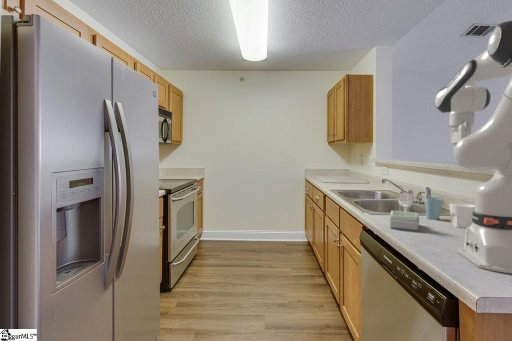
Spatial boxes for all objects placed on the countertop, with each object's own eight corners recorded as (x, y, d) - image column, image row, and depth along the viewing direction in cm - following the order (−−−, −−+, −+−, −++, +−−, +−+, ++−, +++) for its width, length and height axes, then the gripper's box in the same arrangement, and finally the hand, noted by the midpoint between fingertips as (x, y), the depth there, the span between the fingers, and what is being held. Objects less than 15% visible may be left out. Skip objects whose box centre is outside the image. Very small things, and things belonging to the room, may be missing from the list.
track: (418, 231, 129) (419, 223, 128) (390, 228, 133) (391, 220, 133) (414, 220, 150) (414, 213, 149) (390, 218, 154) (390, 211, 154)
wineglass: (413, 220, 135) (414, 194, 134) (399, 220, 136) (400, 193, 135) (409, 218, 141) (410, 192, 140) (396, 217, 142) (397, 192, 141)
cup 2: (474, 230, 132) (475, 207, 132) (447, 226, 138) (448, 205, 138) (475, 225, 140) (476, 204, 140) (449, 222, 146) (450, 202, 146)
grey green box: (418, 228, 130) (419, 217, 130) (390, 225, 135) (391, 215, 135) (416, 222, 141) (416, 212, 141) (390, 220, 146) (390, 210, 146)
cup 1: (423, 218, 154) (425, 198, 153) (424, 216, 160) (425, 196, 160) (441, 220, 150) (442, 199, 149) (440, 218, 157) (442, 198, 156)
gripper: (476, 119, 119) (474, 154, 120) (464, 123, 138) (462, 154, 139) (457, 119, 121) (455, 154, 122) (448, 124, 140) (446, 153, 141)
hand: (459, 154), depth 131 cm, fingers open, 8 cm apart
